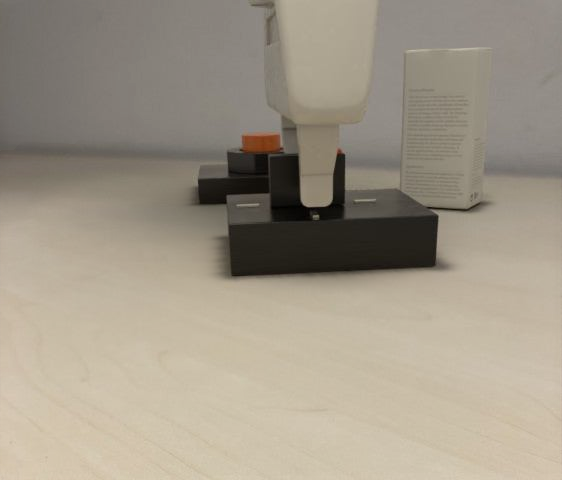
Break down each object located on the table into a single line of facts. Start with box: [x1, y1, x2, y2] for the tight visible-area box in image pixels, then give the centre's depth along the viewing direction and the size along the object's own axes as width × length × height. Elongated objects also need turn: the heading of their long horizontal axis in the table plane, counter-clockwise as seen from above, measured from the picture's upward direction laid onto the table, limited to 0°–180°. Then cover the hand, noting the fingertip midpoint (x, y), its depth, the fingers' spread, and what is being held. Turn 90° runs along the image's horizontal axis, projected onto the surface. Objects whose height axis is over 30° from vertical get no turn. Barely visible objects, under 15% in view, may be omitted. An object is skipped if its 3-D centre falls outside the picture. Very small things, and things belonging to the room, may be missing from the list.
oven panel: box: [226, 187, 440, 277], centre depth 45 cm, size 12×10×3 cm
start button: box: [241, 131, 282, 152], centre depth 66 cm, size 4×4×2 cm
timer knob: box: [268, 147, 346, 207], centre depth 43 cm, size 5×1×3 cm, turn 95°
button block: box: [197, 145, 284, 205], centre depth 67 cm, size 12×10×4 cm
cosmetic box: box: [399, 47, 494, 210], centre depth 57 cm, size 6×4×12 cm
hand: (306, 193), depth 44 cm, fingers open, 7 cm apart
